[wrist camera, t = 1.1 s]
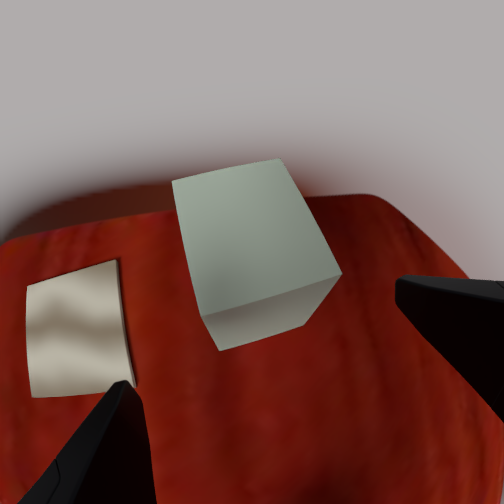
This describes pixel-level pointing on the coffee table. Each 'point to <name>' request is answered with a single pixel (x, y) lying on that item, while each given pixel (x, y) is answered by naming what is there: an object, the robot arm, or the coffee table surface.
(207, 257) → the bulging sage box
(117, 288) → the birch coaster
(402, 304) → the robot arm
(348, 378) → the coffee table surface
